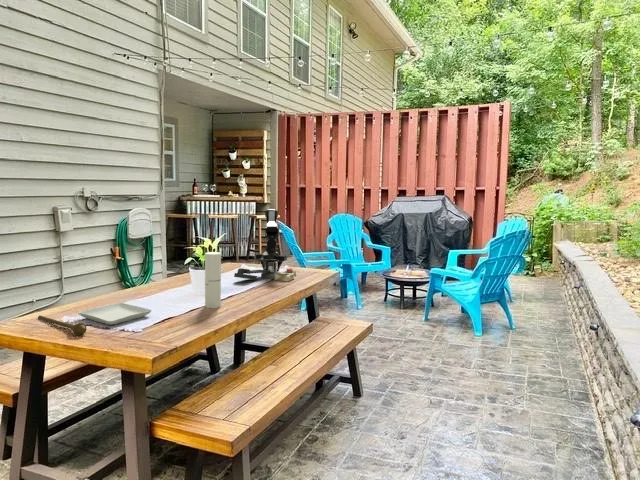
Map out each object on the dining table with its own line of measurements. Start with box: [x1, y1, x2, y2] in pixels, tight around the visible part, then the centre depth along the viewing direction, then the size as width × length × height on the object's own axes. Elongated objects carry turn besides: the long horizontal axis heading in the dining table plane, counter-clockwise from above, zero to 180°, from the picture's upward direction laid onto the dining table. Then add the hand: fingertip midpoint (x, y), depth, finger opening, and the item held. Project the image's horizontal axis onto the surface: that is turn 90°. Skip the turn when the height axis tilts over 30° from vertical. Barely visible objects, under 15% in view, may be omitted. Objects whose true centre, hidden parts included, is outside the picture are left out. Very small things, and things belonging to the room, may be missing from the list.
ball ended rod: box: [37, 315, 88, 336], centre depth 190 cm, size 5×35×5 cm
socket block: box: [260, 270, 297, 280], centre depth 303 cm, size 17×17×3 cm
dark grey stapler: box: [233, 267, 269, 281], centre depth 289 cm, size 9×7×25 cm
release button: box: [286, 267, 293, 273], centre depth 306 cm, size 4×4×4 cm
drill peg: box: [267, 262, 275, 274], centre depth 299 cm, size 3×3×9 cm
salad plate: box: [77, 302, 152, 326], centre depth 205 cm, size 21×21×3 cm
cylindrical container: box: [204, 251, 222, 309], centre depth 227 cm, size 7×7×25 cm
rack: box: [274, 272, 295, 282], centre depth 294 cm, size 9×9×3 cm
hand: (270, 270), depth 300 cm, fingers open, 9 cm apart
